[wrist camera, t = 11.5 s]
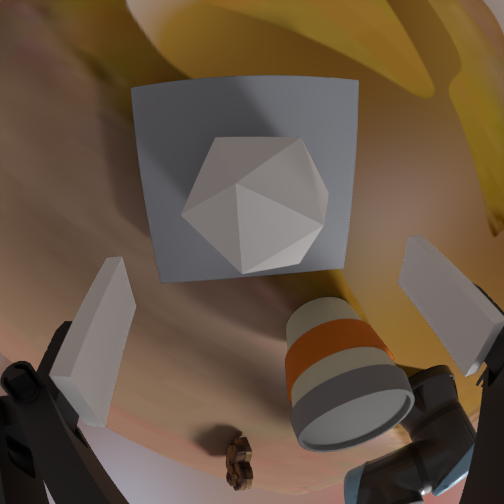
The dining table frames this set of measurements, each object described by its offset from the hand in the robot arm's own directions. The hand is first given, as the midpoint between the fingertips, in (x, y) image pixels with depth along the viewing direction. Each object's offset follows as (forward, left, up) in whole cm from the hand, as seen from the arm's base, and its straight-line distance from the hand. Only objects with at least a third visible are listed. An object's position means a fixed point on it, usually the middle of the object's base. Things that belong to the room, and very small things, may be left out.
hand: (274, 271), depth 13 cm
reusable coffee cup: (-9, +20, -16) cm, 27 cm away
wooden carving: (+4, +54, -16) cm, 56 cm away
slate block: (0, 0, -17) cm, 17 cm away
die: (0, -1, -11) cm, 11 cm away
